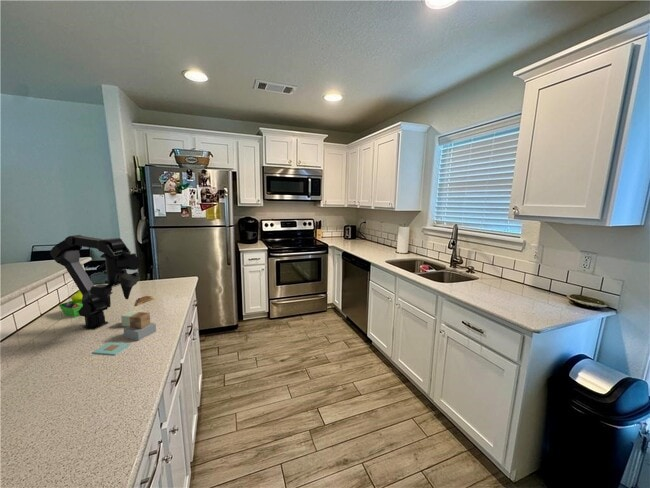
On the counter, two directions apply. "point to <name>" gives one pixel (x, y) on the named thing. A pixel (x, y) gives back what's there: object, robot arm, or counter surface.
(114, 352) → the card
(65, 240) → the robot arm
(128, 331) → the slate block
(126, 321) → the sage cube
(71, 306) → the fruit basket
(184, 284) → the counter surface
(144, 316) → the walnut cube
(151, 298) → the shard
